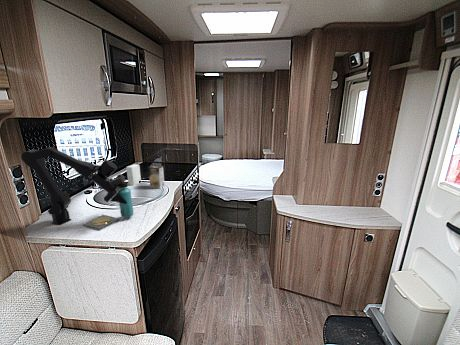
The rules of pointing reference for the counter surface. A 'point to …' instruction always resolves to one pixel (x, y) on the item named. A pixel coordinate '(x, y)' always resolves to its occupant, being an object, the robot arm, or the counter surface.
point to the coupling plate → (101, 222)
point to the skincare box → (133, 174)
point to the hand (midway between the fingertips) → (128, 200)
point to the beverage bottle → (126, 194)
